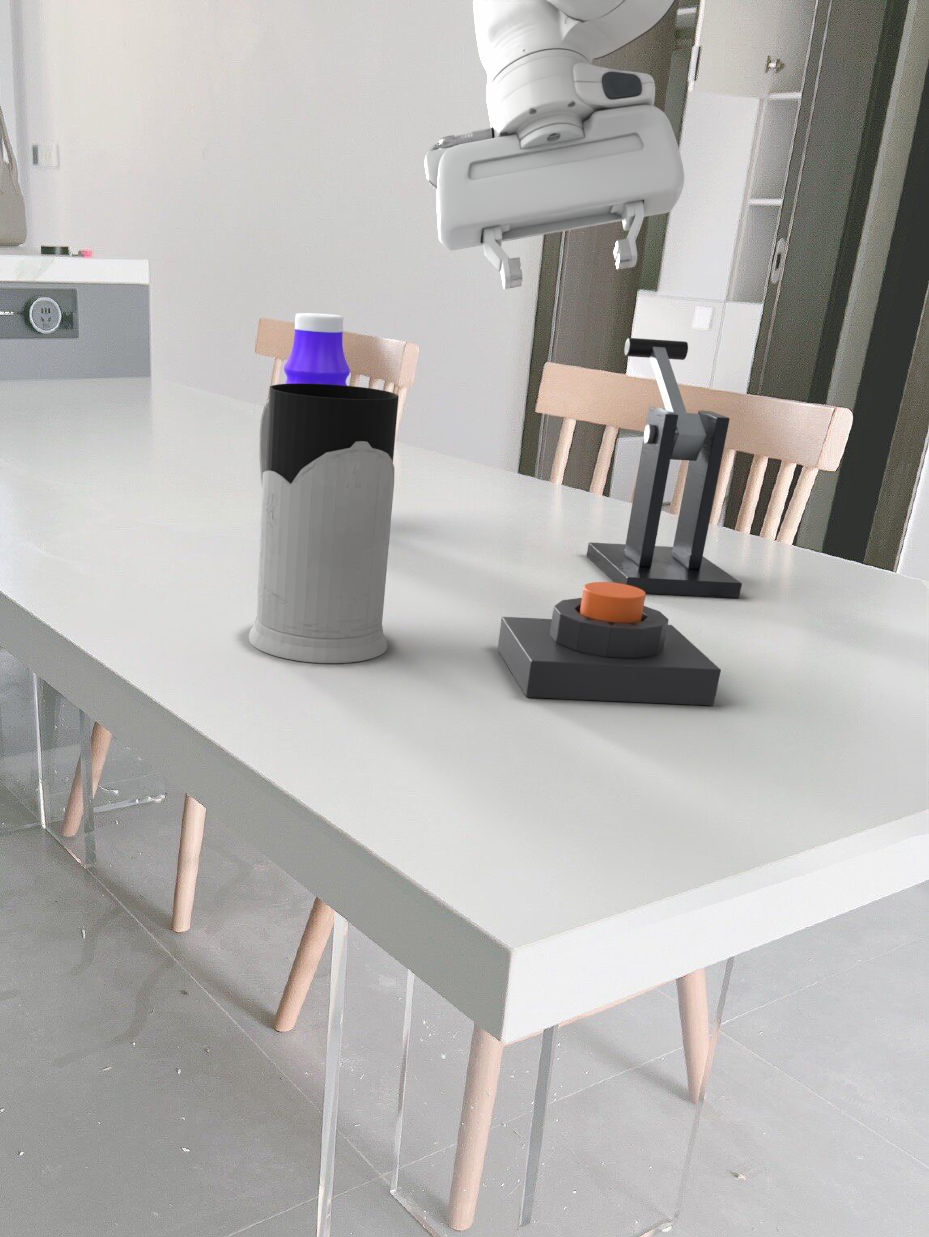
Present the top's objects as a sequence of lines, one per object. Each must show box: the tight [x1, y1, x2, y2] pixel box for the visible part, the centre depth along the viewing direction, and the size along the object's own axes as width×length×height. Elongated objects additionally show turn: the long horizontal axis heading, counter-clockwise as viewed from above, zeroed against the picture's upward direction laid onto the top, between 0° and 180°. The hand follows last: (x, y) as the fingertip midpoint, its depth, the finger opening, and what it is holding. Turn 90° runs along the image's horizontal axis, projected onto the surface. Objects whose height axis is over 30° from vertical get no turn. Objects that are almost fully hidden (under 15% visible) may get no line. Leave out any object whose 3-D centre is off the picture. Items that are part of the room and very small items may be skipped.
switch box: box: [497, 597, 722, 706], centre depth 73 cm, size 11×9×4 cm
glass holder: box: [248, 383, 399, 664], centre depth 76 cm, size 9×14×15 cm, turn 26°
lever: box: [623, 337, 706, 462], centre depth 98 cm, size 14×5×2 cm, turn 3°
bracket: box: [586, 406, 743, 599], centre depth 96 cm, size 12×9×13 cm
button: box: [580, 581, 647, 623], centre depth 72 cm, size 4×4×2 cm
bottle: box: [283, 312, 351, 386], centre depth 106 cm, size 7×6×17 cm
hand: (570, 274), depth 101 cm, fingers open, 8 cm apart
